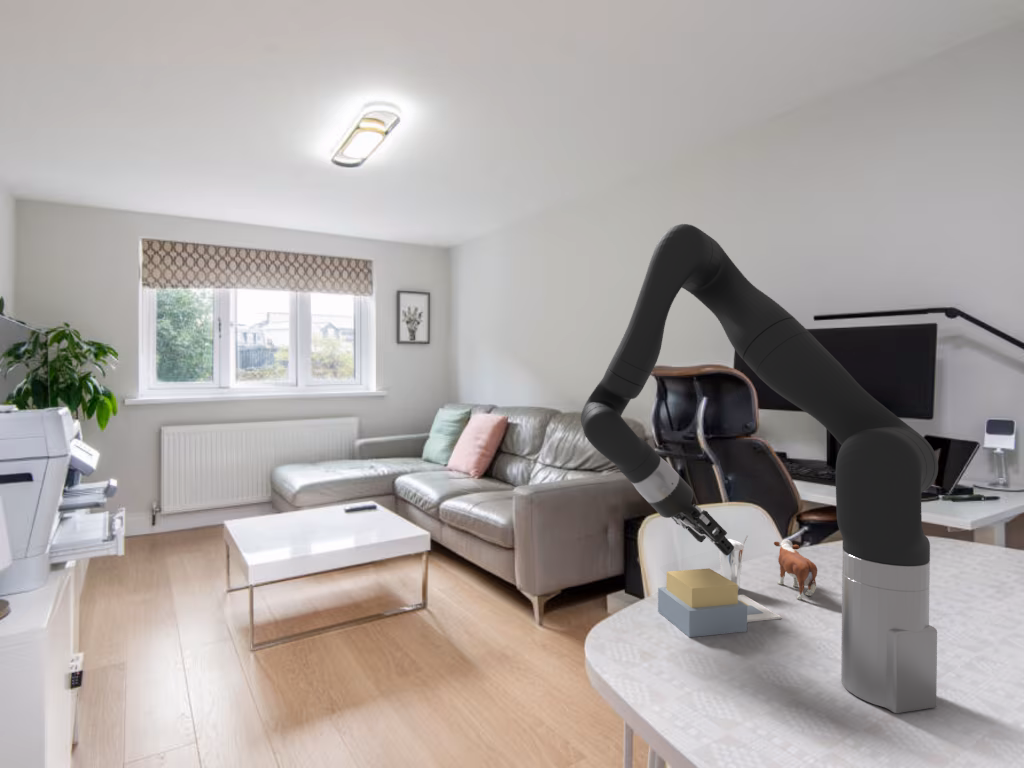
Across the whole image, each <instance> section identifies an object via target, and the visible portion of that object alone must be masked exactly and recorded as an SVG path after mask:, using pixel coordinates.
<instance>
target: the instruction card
mask: <svg viewBox="0 0 1024 768" xmlns="http://www.w3.org/2000/svg"><path fill="white" fill-rule="evenodd" d="M738 600H739V601H741V602H742V603H744V604H745V605H747V623H751V622H760V621H770V620H781V619H782V616H781V615H779V614H777V613H776V612H773V611H772V610H770V609H769V608H767V607H765V606H764V605H762V604H761V603H759V602H757V601H755V600H753V599H752V598H750V597H748V596H747V595H745V594H738Z"/></svg>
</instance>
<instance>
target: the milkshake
mask: <svg viewBox="0 0 1024 768" xmlns="http://www.w3.org/2000/svg"><path fill="white" fill-rule="evenodd" d="M748 537H749V535H746V536H745V538H744V540H743V543H742V542H740V541H738V540H735V539H732V538H727V539H728V540H729V542H730V543H731V544H732V545H733V546H734V549H733V550H732V552H731V553H730V554H729V555H725V554H723V553H722V552H721V551H720V550H719V549H718V557H719V558H718V559H719V565H720V566H719V567H720V575H722V576H724V577H725V578H727V579H729V580H731V581H732V582H734V583H736V584H738V591H740V589H741V575H742V566H743V565H742V564H743V559H744V557H743V556H744V549H745V546H744V545H745V543H746V542H747V538H748Z"/></svg>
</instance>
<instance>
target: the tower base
mask: <svg viewBox="0 0 1024 768" xmlns="http://www.w3.org/2000/svg"><path fill="white" fill-rule="evenodd" d="M738 595H739V590H738V584H736V583H734V582H732V581H731V580H729V579H727V578H725V577H724V576H722V575H721V573H718V572H716V571H715V570H713V569H711V568H697V569H685V570H683V569H682V570H672V571H671V570H669V571H666V586H665V587H664V586H662V587H658V588H657V612H658V613H660V615H661V616H663V617H665V619H666V620H667V621H669V622H670V623H671V624H672V625H674V626H675V627H676V628H677V629H679V630H680V631H681V632H682V633H683V634H685V635H686V636H687V637H688V638H694V637H704V636H713V635H715V636H716V635H722V634H732V633H733V634H734V633H743V632H748V622H747V605H745V604H744V603H742V602H741V601H739V600H738Z"/></svg>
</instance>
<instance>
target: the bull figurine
mask: <svg viewBox="0 0 1024 768" xmlns="http://www.w3.org/2000/svg"><path fill="white" fill-rule="evenodd" d="M773 544H774V545H773V546H775V547H780V548H779V554H778V555H779V556H778V558H777V559H778V565H779V570H780V571H779V577H780V578H779V580H778V582H777V585H781V586H783V585H784V582H785V581H784V579H785V576H786V573H787V575H789V576H790V577H792V578H793V582H792V587H793V588H798V590H799V593H798V595H797V597H796V599H797V600H799V601H802V600H803V599H804V595H805V596H808V597H809V596H810V597H811V596H813V594H814V593H815V592H816V589H817V582H816V578H817V576H818V575H817V574H818V567H817V565H816V564H815V563H814V562H812V561H811V560H810V559H809V558H807V557H804V556H803V555H802V554H800V553H799V551H797V550H799V549H800V546H799V545H798V544H793V541H791V540H789V539H786V538H785V539H783V540H782V541H781V542H780V541H774V542H773ZM805 587H807V590H806V591H805V593H804V590H805Z"/></svg>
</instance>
